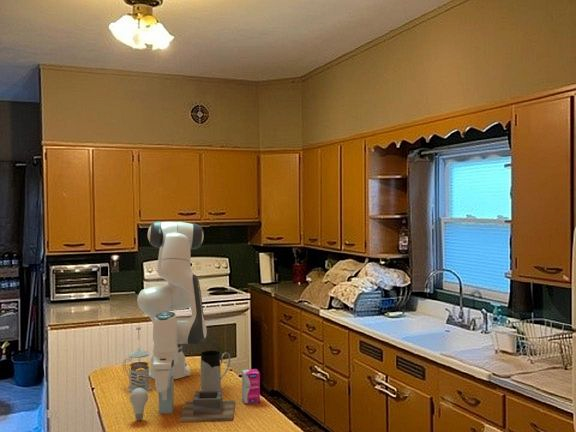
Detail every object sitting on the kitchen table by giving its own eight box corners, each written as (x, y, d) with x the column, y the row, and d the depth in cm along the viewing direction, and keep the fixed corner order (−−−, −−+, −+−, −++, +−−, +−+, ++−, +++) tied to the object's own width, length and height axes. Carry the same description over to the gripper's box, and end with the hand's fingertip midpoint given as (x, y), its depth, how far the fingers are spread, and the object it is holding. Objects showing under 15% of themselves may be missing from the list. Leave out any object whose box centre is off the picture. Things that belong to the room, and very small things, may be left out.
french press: (145, 392, 229) (144, 329, 229) (118, 391, 231) (117, 328, 231) (155, 385, 239) (155, 324, 238) (129, 383, 241) (128, 323, 241)
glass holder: (195, 390, 231) (194, 353, 231) (223, 382, 241) (222, 346, 241) (208, 395, 225) (208, 357, 224) (237, 387, 235) (236, 350, 234)
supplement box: (244, 405, 214) (244, 373, 214) (241, 399, 220) (241, 369, 219) (260, 403, 215) (260, 372, 215) (256, 398, 221) (256, 368, 221)
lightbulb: (150, 416, 203) (149, 385, 203) (146, 423, 197) (145, 390, 196) (132, 417, 203) (131, 385, 202) (128, 423, 196) (127, 391, 196)
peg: (161, 409, 210) (160, 376, 210) (173, 408, 210) (173, 375, 210) (158, 413, 206) (158, 379, 205) (171, 413, 206) (171, 379, 206)
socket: (185, 404, 215) (185, 388, 215) (234, 402, 216) (234, 386, 216) (179, 422, 197) (179, 404, 197) (232, 420, 198) (232, 403, 198)
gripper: (161, 351, 218) (162, 388, 218) (151, 366, 197) (152, 406, 198) (178, 350, 218) (179, 387, 218) (170, 365, 198) (170, 406, 198)
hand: (166, 396), depth 208 cm, fingers closed on peg, 4 cm apart
